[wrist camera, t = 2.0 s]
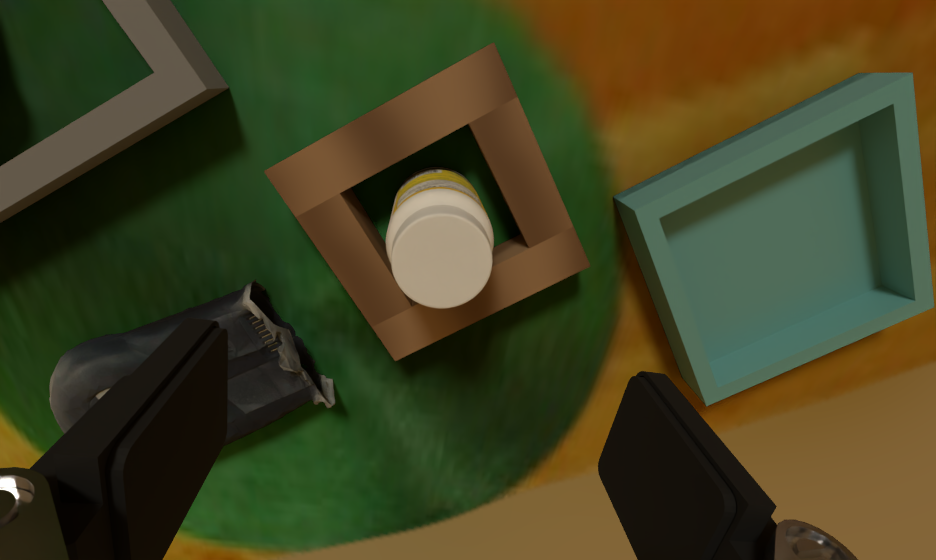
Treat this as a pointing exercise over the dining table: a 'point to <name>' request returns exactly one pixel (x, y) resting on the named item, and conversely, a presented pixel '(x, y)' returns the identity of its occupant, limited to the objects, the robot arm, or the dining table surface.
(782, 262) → the tray
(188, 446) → the robot arm
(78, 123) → the gray rectangular frame
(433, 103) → the square wooden frame
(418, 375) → the dining table surface
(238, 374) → the electronic device
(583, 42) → the dining table surface
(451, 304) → the supplement bottle
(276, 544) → the dining table surface
